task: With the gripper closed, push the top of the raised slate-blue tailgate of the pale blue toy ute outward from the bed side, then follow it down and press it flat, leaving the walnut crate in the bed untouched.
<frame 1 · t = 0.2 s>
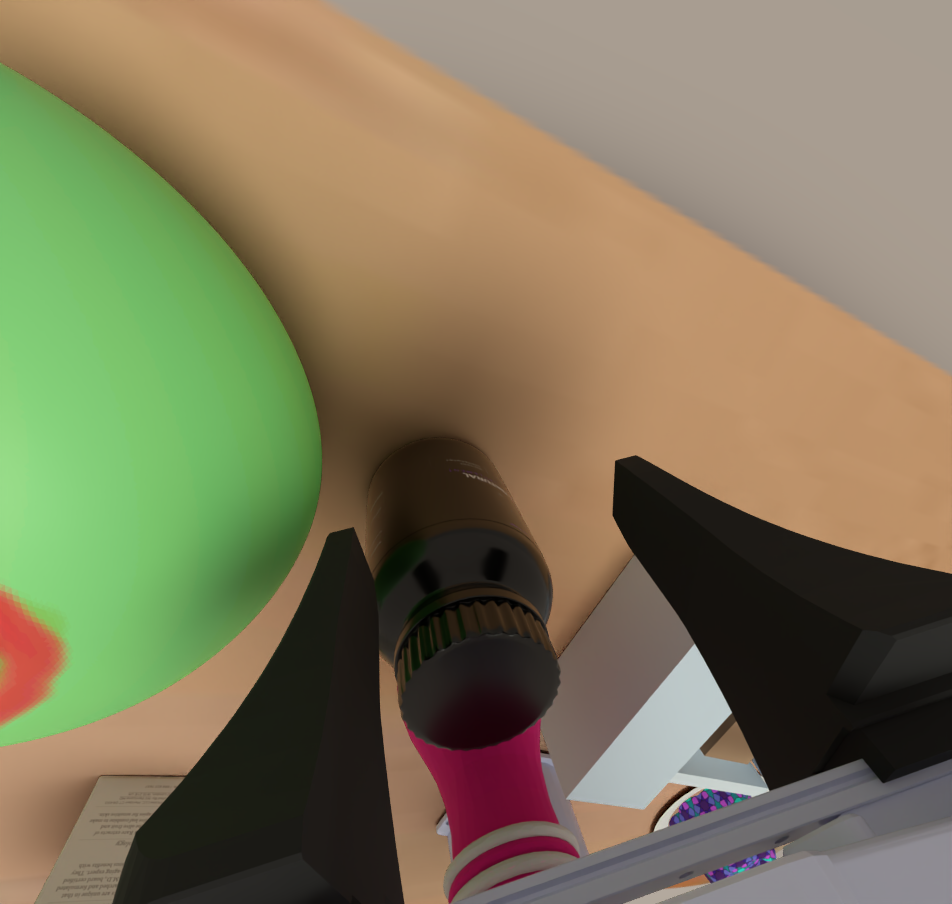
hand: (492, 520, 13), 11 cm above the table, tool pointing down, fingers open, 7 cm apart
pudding: (706, 805, 45), on the table
skincare box: (151, 812, 30), on the table
supplement bottle: (433, 492, 24), on the table
crate: (705, 682, 32), point 2 cm above the table, touching ute bed
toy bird: (99, 365, 19), on the table
tailgate: (822, 736, 34), point 4 cm above the table, hinge at 94.0°
ute bed: (715, 667, 35), on the table
pepper mill: (454, 617, 28), on the table
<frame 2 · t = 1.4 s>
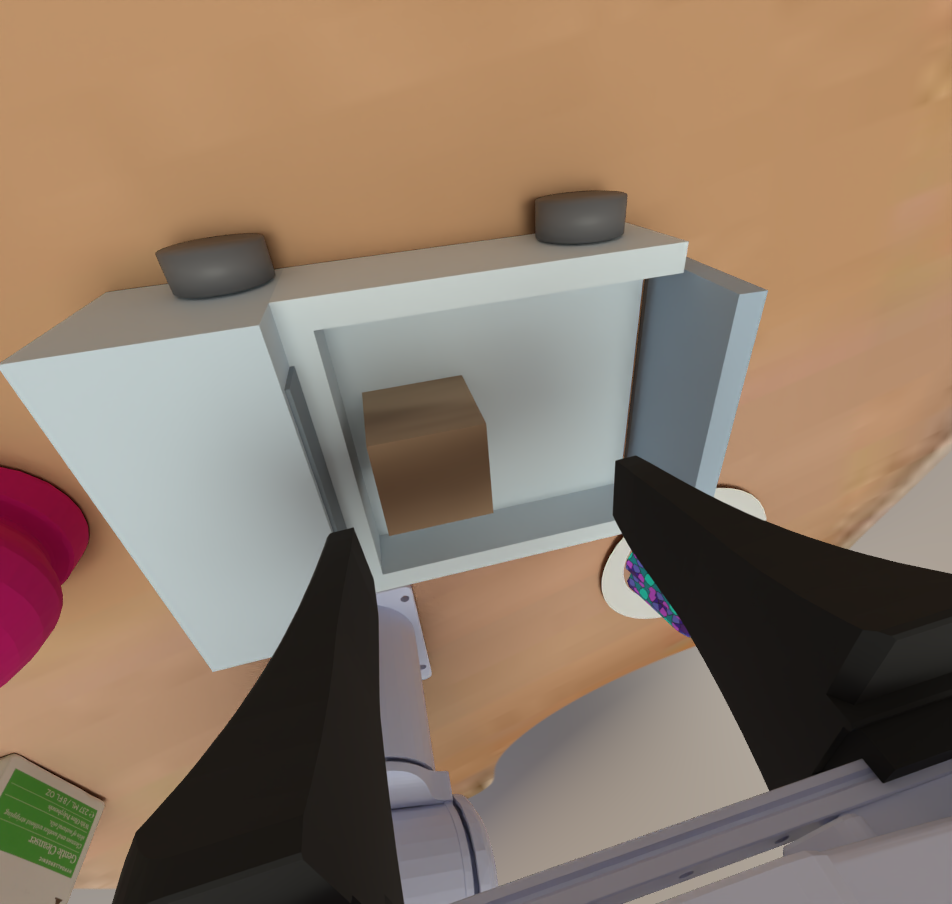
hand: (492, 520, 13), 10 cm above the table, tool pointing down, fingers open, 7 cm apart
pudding: (676, 549, 33), on the table
skincare box: (14, 791, 30), on the table
crate: (420, 426, 20), point 2 cm above the table, touching ute bed
tailgate: (675, 405, 20), point 4 cm above the table, hinge at 94.0°
ute bed: (478, 393, 22), on the table
pepper mill: (4, 520, 20), on the table
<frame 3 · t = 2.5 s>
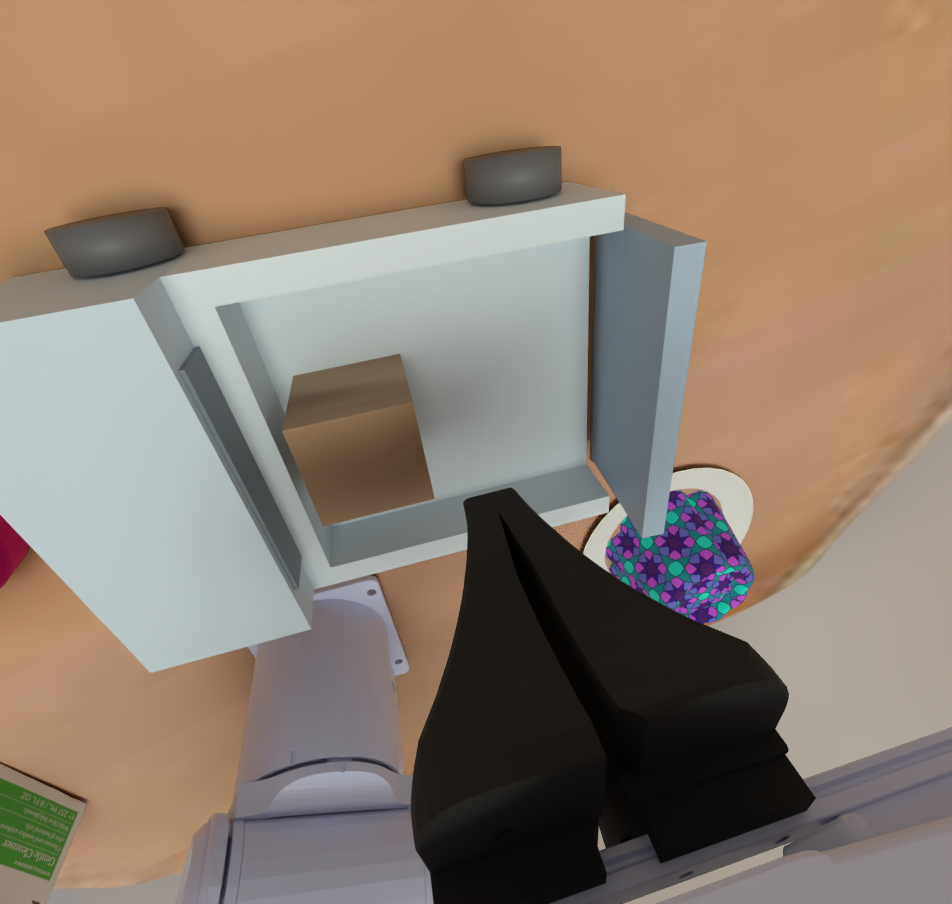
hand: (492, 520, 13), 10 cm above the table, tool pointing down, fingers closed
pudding: (659, 534, 32), on the table
crate: (361, 410, 19), point 2 cm above the table, touching ute bed
tailgate: (631, 378, 18), point 4 cm above the table, hinge at 94.0°
ute bed: (427, 374, 21), on the table
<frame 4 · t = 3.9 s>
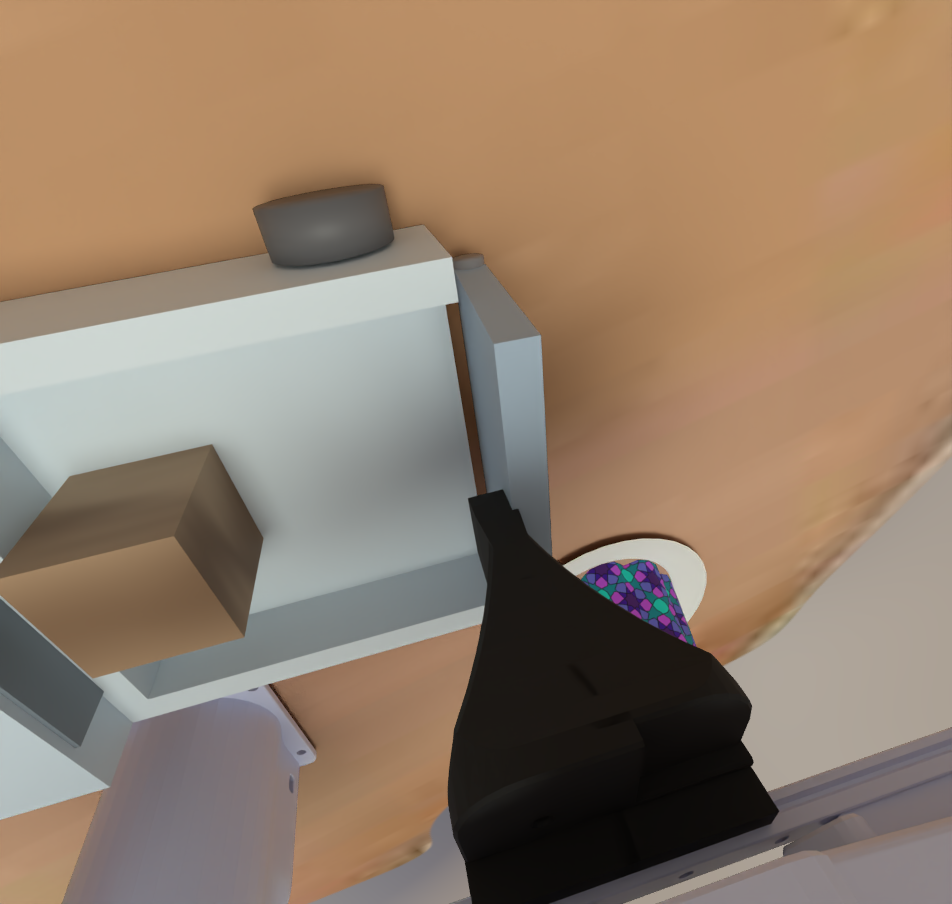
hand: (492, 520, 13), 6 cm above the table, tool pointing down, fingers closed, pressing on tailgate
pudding: (601, 603, 28), on the table
crate: (175, 510, 15), point 2 cm above the table, touching ute bed
tailgate: (510, 471, 15), point 4 cm above the table, hinge at 93.4°, touching gripper
ute bed: (277, 453, 17), on the table
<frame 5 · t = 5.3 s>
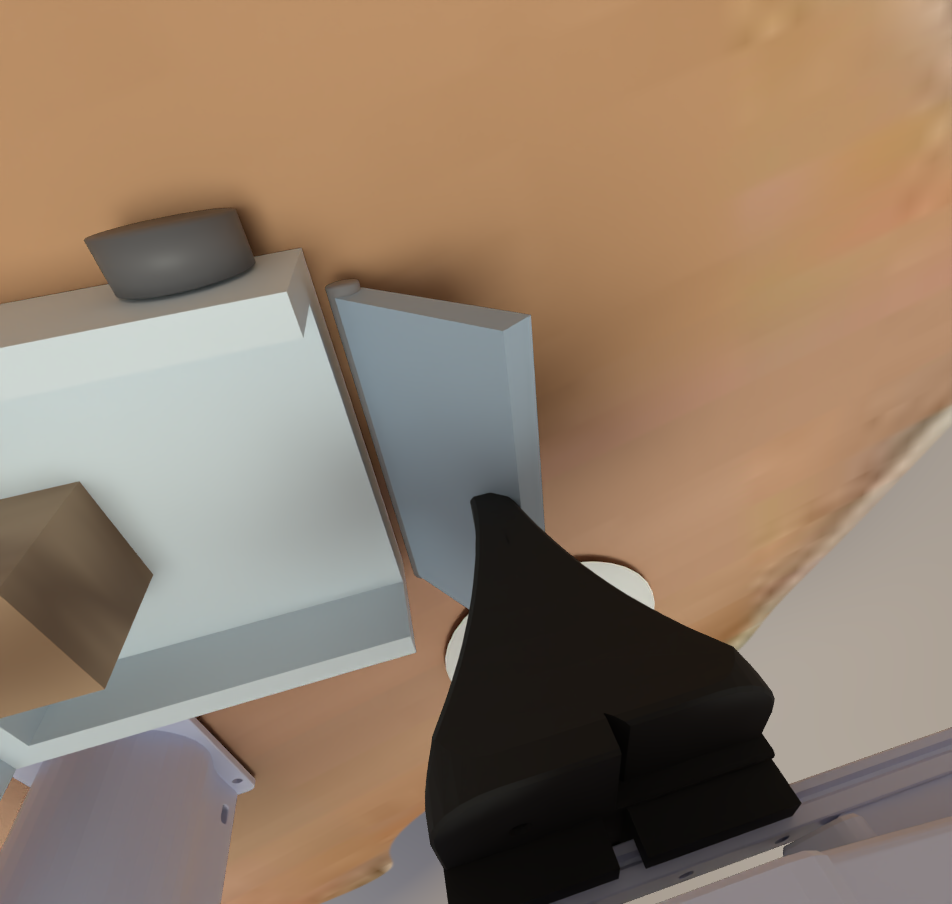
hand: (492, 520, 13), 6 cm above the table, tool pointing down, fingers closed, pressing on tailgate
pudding: (547, 625, 27), on the table
crate: (49, 548, 14), point 2 cm above the table, touching ute bed
tailgate: (451, 481, 14), point 4 cm above the table, hinge at 54.3°, touching gripper
ute bed: (171, 484, 16), on the table
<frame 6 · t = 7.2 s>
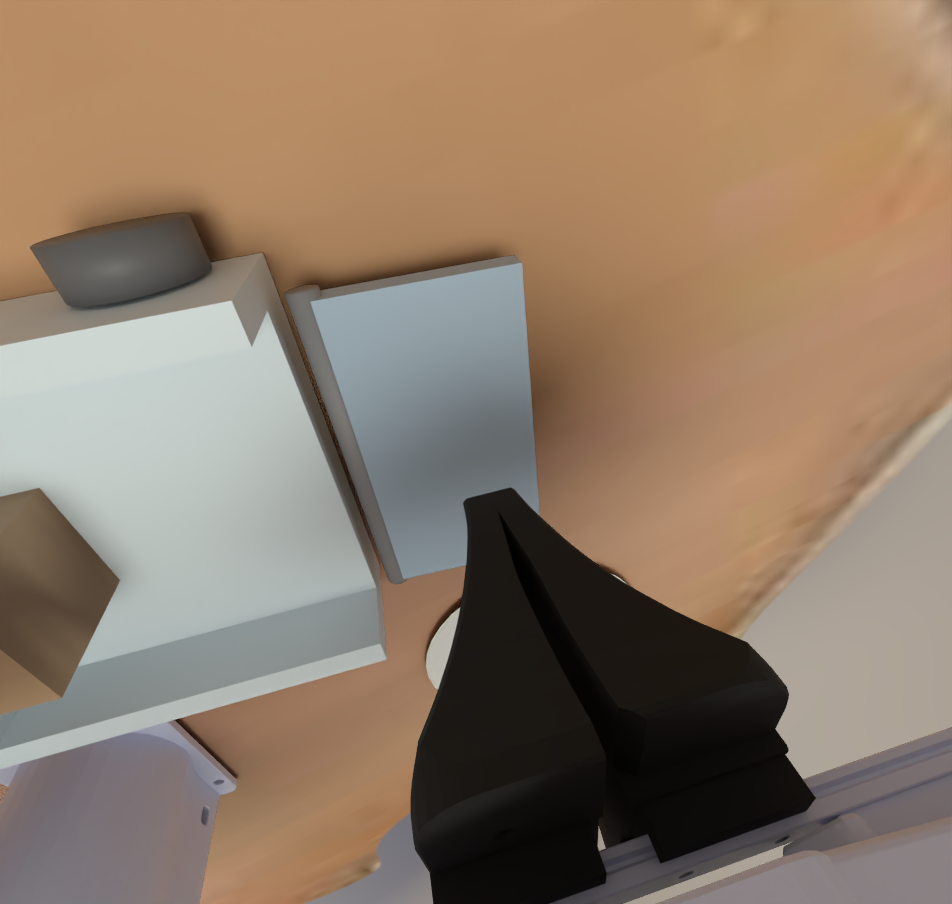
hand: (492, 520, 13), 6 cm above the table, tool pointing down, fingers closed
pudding: (530, 629, 27), on the table
crate: (12, 554, 14), point 2 cm above the table, touching ute bed
tailgate: (439, 444, 16), point 2 cm above the table, hinge at 2.9°
ute bed: (140, 489, 16), on the table
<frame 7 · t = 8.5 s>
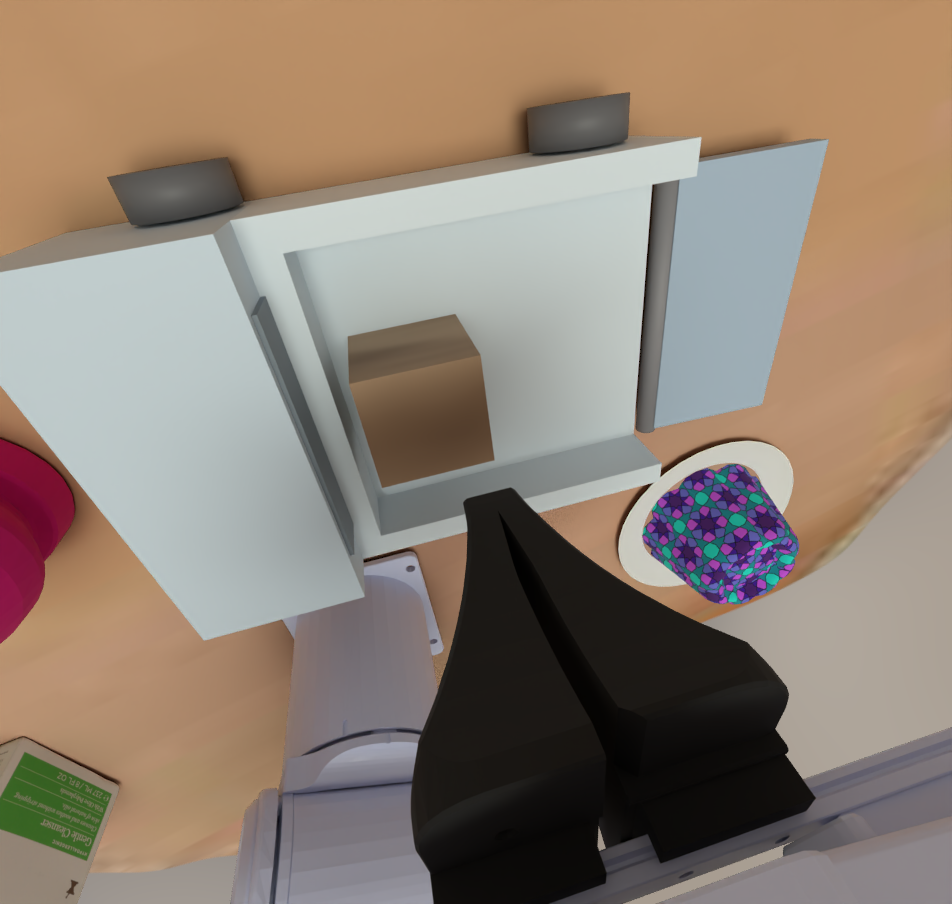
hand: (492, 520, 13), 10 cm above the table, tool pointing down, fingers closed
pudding: (697, 511, 31), on the table
skincare box: (27, 775, 30), on the table
crate: (413, 374, 19), point 2 cm above the table, touching ute bed
tailgate: (713, 302, 20), point 2 cm above the table, hinge at 2.5°
ute bed: (476, 339, 21), on the table
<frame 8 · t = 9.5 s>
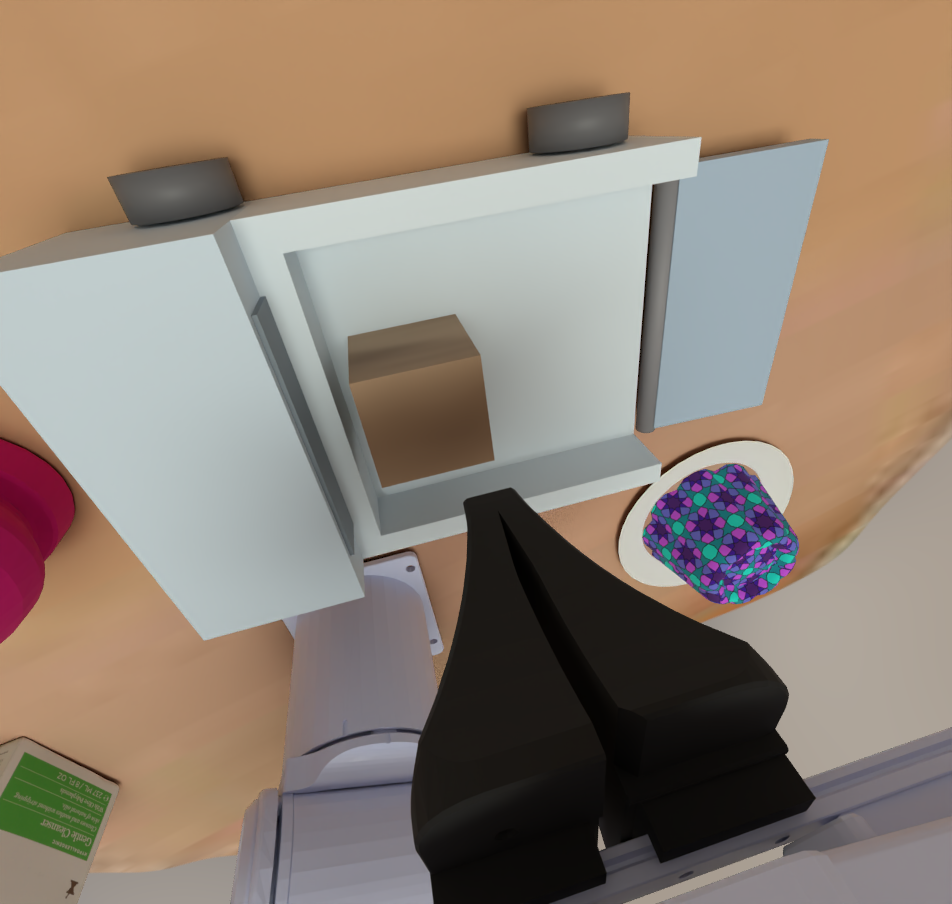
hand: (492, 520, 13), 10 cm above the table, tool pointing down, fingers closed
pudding: (697, 511, 31), on the table
skincare box: (27, 775, 30), on the table
crate: (413, 374, 19), point 2 cm above the table, touching ute bed
tailgate: (713, 302, 20), point 2 cm above the table, hinge at 2.5°
ute bed: (476, 339, 21), on the table
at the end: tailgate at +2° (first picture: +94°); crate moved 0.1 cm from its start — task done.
